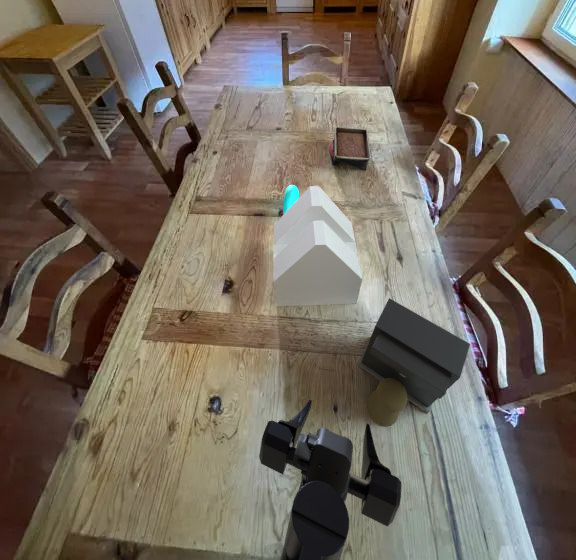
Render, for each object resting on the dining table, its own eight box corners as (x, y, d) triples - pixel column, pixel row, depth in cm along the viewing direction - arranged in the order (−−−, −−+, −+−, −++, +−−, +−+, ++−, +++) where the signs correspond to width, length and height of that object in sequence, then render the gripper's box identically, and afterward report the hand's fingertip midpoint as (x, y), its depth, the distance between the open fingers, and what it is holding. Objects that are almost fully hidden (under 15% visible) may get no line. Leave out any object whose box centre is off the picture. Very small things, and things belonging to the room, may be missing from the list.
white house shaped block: (275, 306, 81) (269, 246, 64) (276, 251, 92) (270, 187, 75) (356, 303, 81) (371, 243, 64) (346, 249, 92) (357, 184, 75)
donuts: (289, 200, 106) (288, 177, 99) (321, 204, 104) (323, 181, 97) (282, 225, 99) (281, 202, 92) (316, 230, 97) (318, 207, 90)
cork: (401, 426, 64) (416, 413, 56) (369, 426, 64) (379, 412, 57) (395, 389, 68) (407, 372, 61) (364, 389, 69) (373, 372, 61)
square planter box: (369, 150, 125) (371, 125, 119) (370, 177, 111) (372, 151, 105) (330, 148, 128) (330, 124, 122) (326, 176, 113) (326, 150, 108)
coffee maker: (423, 426, 64) (457, 399, 50) (351, 376, 70) (364, 339, 56) (439, 379, 70) (474, 343, 56) (371, 336, 76) (387, 294, 62)
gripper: (412, 538, 35) (412, 401, 49) (246, 456, 40) (289, 353, 54) (387, 593, 38) (393, 451, 52) (239, 511, 43) (281, 402, 57)
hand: (338, 413), depth 54 cm, fingers open, 9 cm apart
